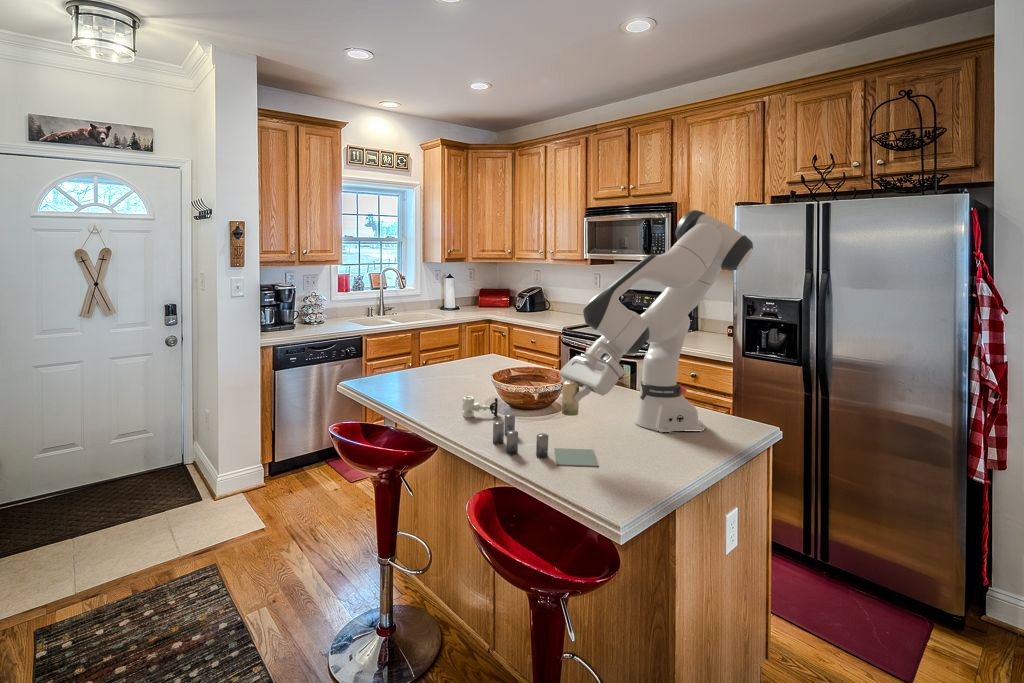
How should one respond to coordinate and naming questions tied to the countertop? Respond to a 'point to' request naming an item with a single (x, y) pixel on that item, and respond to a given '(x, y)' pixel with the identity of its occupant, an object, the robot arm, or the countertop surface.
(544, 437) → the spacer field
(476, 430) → the countertop surface
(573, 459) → the mat
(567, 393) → the gold metal cylinder
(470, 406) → the valve
